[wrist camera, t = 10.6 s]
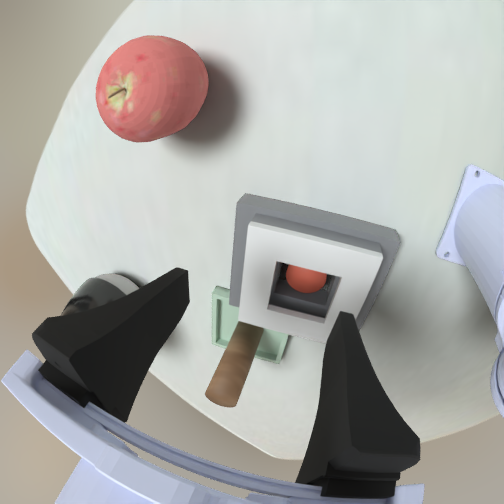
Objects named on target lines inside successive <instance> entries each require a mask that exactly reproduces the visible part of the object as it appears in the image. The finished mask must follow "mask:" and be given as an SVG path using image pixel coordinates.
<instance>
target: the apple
mask: <svg viewBox="0 0 504 504" xmlns="http://www.w3.org/2000/svg"><path fill="white" fill-rule="evenodd" d="M208 86H209V82H208V73H207V70H206V68H205V65H204V63H203V61H202V60H201V58H200V57H199V55H198V54H197V53H196V52H195V51H194V50H193V49H191V48H190V47H189V46H187V45H186V44H184V43H183V42H181V41H178V40H175V39H172V38H169V37H164V36H143V37H139V38H136V39H132V40H130V41H128V42H127V43H125V44H124V45H122V46H121V47H119V48H118V49H117V50H116V51H115V52H114V53H113V54H112V55H111V56H110V57H109V58H108V60H107V61H106V63H105V64H104V66H103V68H102V70H101V72H100V75H99V77H98V81H97V86H96V102H97V107H98V110H99V113H100V116H101V118H102V119H103V121H104V123H105V124H106V125H107V127H108V128H109V129H110V130H111V131H112V132H114V133H115V134H116V135H118V136H119V137H121V138H123V139H126V140H129V141H132V142H150V141H154V140H157V139H160V138H163V137H166V136H169V135H171V134H174V133H176V132H178V131H180V130H182V129H183V128H185V127H186V126H187V125H188V124H189V123H190V122H191V121H192V120H193V119H194V118H195V117H196V116H197V114H198V112H199V110H200V109H201V107H202V105H203V103H204V101H205V98H206V95H207V91H208Z"/></svg>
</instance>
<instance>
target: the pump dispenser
mask: <svg viewBox="0 0 504 504" xmlns="http://www.w3.org/2000/svg"><path fill="white" fill-rule="evenodd" d="M137 289H139V287H138V286H137V285H136V284H135V283H133V282H132V281H131V280H129V279H127V278H126V277H123V276H121V275H117V274H103V275H100V276H97V277H95V278H90V279H88V280H86V281H85V282H84V283H83V284H82V285H81V286H80V287H79V289H78V290H77V291H76V292H75V294H74V295H73V297H72V298H71V299H70V301H69V302H68V304H67V305H66V307H65V309H64V310H63V312H62V314H61V316H64V315H69V314H74V313H79V312H82V311H86V310H90V309H93V308H96V307H99V306H102V305H105V304H107V303H110V302H112V301H115V300H117V299H119V298H122V297H124V296H126V295H128V294H130V293H132V292H134V291H136V290H137Z"/></svg>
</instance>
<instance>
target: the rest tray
mask: <svg viewBox="0 0 504 504" xmlns="http://www.w3.org/2000/svg"><path fill="white" fill-rule="evenodd" d="M229 296H230V290H229V289H226V288H222V287H219V286H216V288H215V289H214V291H213V293H212V344H213V345H216V346H219V347H222V348H225V349H226V347H227V345H228V343H229V341H230V339H231V337H232V334H233V332H234V330H235V328H236V326H237V323H238V316H239V307H235V306H232V305H229ZM263 329H264V331H263V334H262V337H261V339H260V342H259V345H258V348H257V351H256V353H255V356H254V357H255V358H258V359H262V360H266V361H269V362H273V363H277V364H279V363H280V360H281V357H282V354H283V351H284V348H285V345H286V342H287V339H288V335H289V334H285V333H281V332H277V331H273V330H270V329H266V328H263Z"/></svg>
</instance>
